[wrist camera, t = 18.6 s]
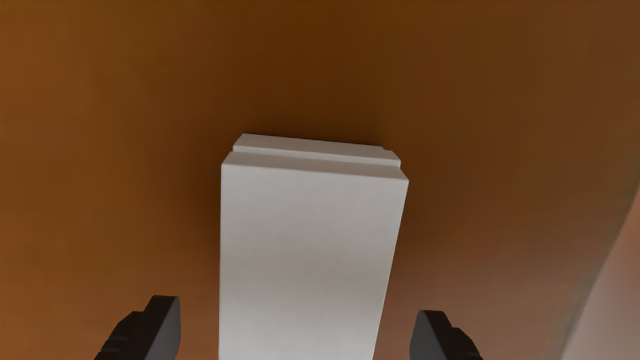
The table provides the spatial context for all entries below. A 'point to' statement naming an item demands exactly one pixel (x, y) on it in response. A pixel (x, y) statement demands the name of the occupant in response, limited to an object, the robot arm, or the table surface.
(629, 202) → the table surface
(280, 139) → the white books
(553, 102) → the table surface
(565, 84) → the table surface
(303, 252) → the white book
